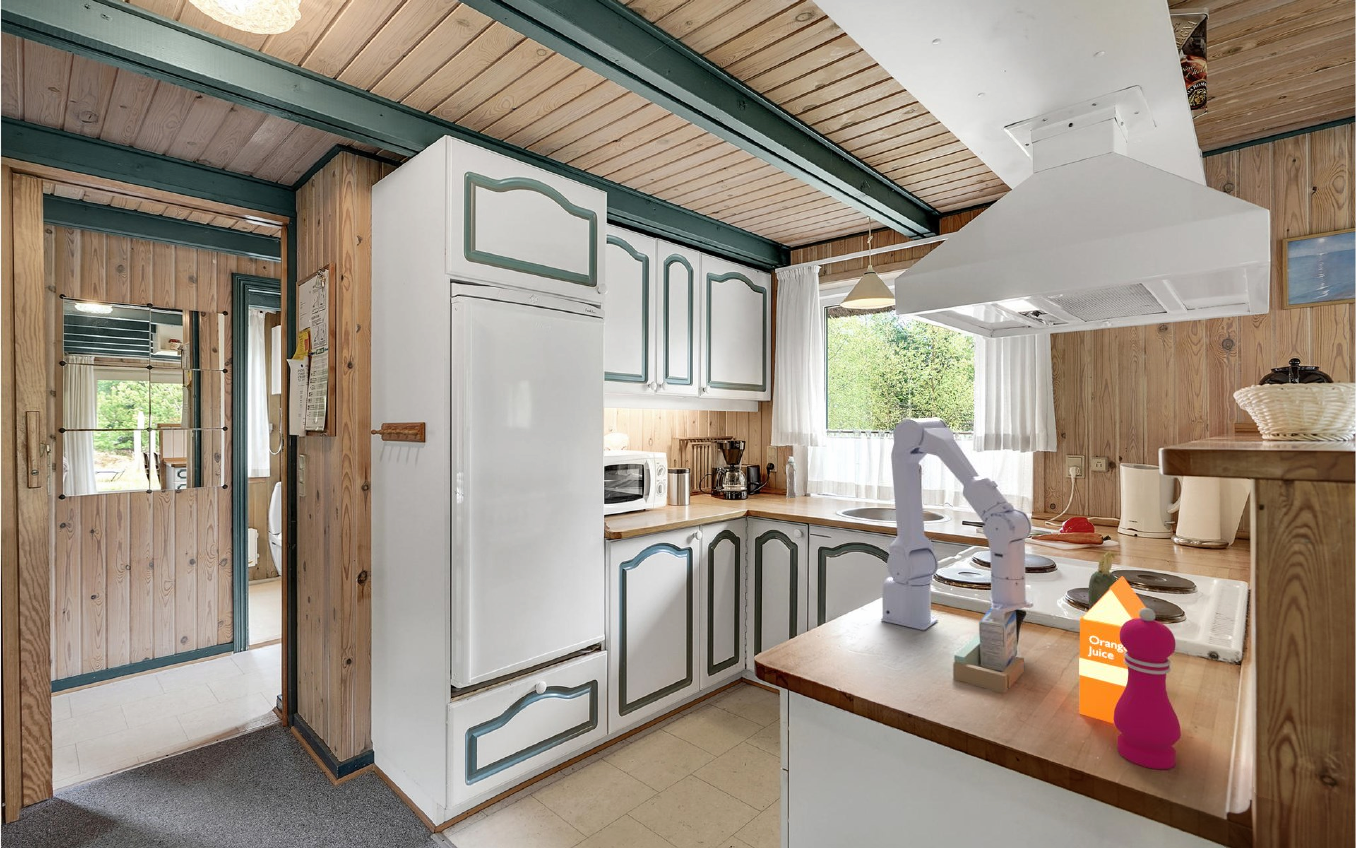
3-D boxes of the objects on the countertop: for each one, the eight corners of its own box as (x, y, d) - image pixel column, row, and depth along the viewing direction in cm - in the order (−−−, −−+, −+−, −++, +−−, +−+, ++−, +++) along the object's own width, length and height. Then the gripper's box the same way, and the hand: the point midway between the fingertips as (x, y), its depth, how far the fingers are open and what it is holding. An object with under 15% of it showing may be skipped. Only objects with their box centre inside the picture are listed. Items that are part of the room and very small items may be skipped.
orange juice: (1078, 713, 97) (1078, 583, 96) (1093, 694, 103) (1093, 571, 103) (1140, 731, 91) (1142, 593, 91) (1152, 710, 98) (1153, 580, 97)
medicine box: (1007, 673, 111) (1006, 626, 110) (979, 667, 114) (978, 620, 113) (1017, 655, 117) (1016, 610, 116) (991, 649, 120) (990, 605, 119)
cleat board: (953, 679, 109) (953, 656, 109) (990, 644, 125) (990, 623, 125) (1005, 693, 104) (1005, 669, 104) (1037, 654, 119) (1037, 633, 119)
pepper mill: (1192, 775, 81) (1194, 618, 80) (1128, 769, 82) (1129, 616, 82) (1161, 744, 88) (1163, 601, 87) (1103, 740, 89) (1104, 598, 89)
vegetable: (1089, 660, 116) (1090, 551, 115) (1087, 652, 120) (1087, 546, 119) (1118, 665, 114) (1119, 553, 113) (1115, 656, 118) (1116, 548, 117)
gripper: (1021, 588, 110) (1022, 666, 111) (1041, 571, 121) (1042, 641, 122) (978, 581, 115) (979, 656, 115) (1001, 565, 126) (1002, 634, 126)
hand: (1009, 648), depth 119 cm, fingers closed, pressing on medicine box
